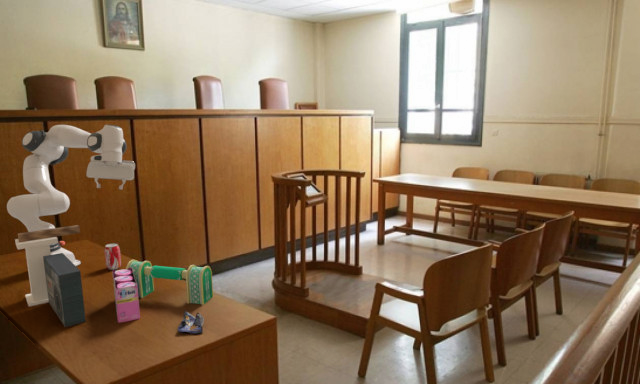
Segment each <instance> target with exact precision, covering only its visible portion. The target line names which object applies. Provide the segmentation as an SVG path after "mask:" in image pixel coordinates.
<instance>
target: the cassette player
mask: <svg viewBox="0 0 640 384" xmlns="http://www.w3.org/2000/svg"><path fill="white" fill-rule="evenodd" d="M43 260H44V268H45V275H46V283H47V291H48V299H49V302H48V303H49V305H50V306H51V308H52V310H53V311H54V313H55V315H56V316H57V317H58V319H59V321H60V322H61V323H62V324H63V326H64V328H67V327H68V328H69V327H71V326H76V325H78V324H82V323H86V322H87V319H86V311H85V303H84V302H85V300H84V292H83V291H84V290H83V283H82V275H81V274H82V273H81V270H80V269H79V268H78V267H77V266H75V265H74V264H73V263H72V262H71V261H70V260H69V259H68V258H67V257H66V256H65V255H64V254H63V253H59V254H54V255H48V256H43Z"/></svg>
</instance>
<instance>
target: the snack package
mask: <svg viewBox="0 0 640 384" xmlns="http://www.w3.org/2000/svg"><path fill="white" fill-rule="evenodd" d="M204 321H205V318H204V316H203V314H201V313H199V312H196V313H195V315H193V314H192V313H190V312H189V311H188V310H184V313H183V317H182V320H181V321H180V322H179V323H180V324H179V325H178V328H177V331H178V333H189V335H200V334H202V335H203V332H204V331H203V330H204V329H203V325H204ZM191 326H193V327H194V328H193V329H191Z"/></svg>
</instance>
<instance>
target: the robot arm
mask: <svg viewBox="0 0 640 384" xmlns="http://www.w3.org/2000/svg"><path fill="white" fill-rule="evenodd" d="M21 146H22V147H23V148H24V149H25V150H26V151H28V152H31V154H30V155H28V156H26V157H25V159H24V161H23V166H22V177H23V186H24V188H25V190H27V191H28V192H29V194H20V195H16V196H12V197H10V199H9V200H8V201H7V204H6V209H7V213H8V214H9V215H10V216H11V217H12V218H14V219H17V220H19V221H20V222H21V223H22V224H23V225H24V226H25V228H26V230H27V232H32V231H39V230H46V229H53V228H56V227H55V225H54V224H52V223H50V222H47V221H43V220H41V218H40V217H44V216H53V215H58V214H63V213H65V212H67V211H68V209H70V205H71V202H70V201H71V200H70V198H69V196H68V195H67V194H66V193H65V192H63V191H60V190H58V189H56V187H54V186H53V185H52V182H51V178H50V173H49V172H50V171H49V165H50V166H55V165H57V164H60V163H62V162H64V161H65V160H66V159H67V158H68V157H69V149H70V148H71V149H73V148H74V149H88V150H89V151H90V152H92V153H96V155H92V156H91V157H90V162H89V163H88V165H87V168H86V177H87V178H91V179H93V178H94V182H95V183H96V188H97V189H101V183H99V179H104V180H105V179H106V180H119V181H121V182H122V183H121V185H119V187H118V190H123V188H124V185H125V183H126V182H127V181H132V180H134V179H135V170H136V163H135V162H134V161H133V160H124V159H123V155H124V154H125V153H126V151H127V149H128V148H127V147H128V146H127V142H126V140H125V139H124V131H123V128H122V127H120V126H117V125H113V124H105V125H104V126H103V128H102V129H100V130H98V131H96V132H91V133H90V132H89V131H86V130H83V129H81V128H79V127H77V126H73V125H68V124H56V125H53V126H52V127H50V129H49V130H48V131H47V132H46V131H44V130H43V129H41V130H40V129H39V130H32V131H29V132H26V134H25V135H24V136H23V137H22V140H21ZM49 245H50V253H51V255H54V254H59V253H63V254H64V255H65V256H66V257H67V258H68V259H69V260H70V261H71V262H72V263H73V264H74V265H75V266H76V267H77V266H79V265H81V260H78V259H76V257H75V255H74V253H73V252H72V251H70V250H67V249H66V248H64V247H62V246H64V245H66V242H65V241H64V240H60V241H59V240H58V243H56V244H49Z"/></svg>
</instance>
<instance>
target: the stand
mask: <svg viewBox="0 0 640 384" xmlns="http://www.w3.org/2000/svg"><path fill="white" fill-rule="evenodd" d="M14 241H15V246H16V249H17V250H18V251H19V250H23V249H24V250H25V251H24V252H25V258H26V265H27V271H28V279H29V285H30V293H27V294H25V295H24V296H25V299H26V302H27V306H28V307H33V306H39V305H43V304H47V303H49V299H48V291H47V283H46V275H45V268H44V260H43V256H48V255H51V253H50V245H49V244H56V243H58V241H59V240H58V236H57V237H51V238H44V239H38V240H31V241H25V242H19V240H18V238H14Z"/></svg>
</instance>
